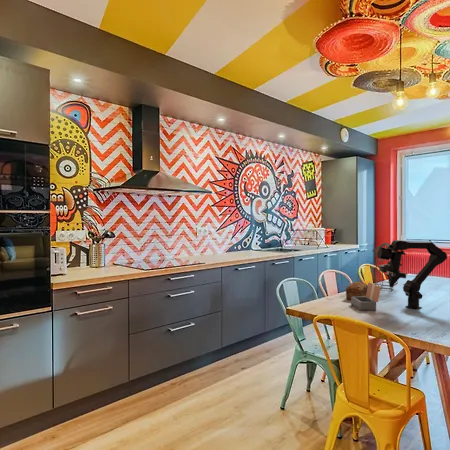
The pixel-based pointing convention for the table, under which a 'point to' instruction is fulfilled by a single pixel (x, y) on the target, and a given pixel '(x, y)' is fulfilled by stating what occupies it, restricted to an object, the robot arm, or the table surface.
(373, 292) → the lid
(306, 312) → the table surface
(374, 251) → the geometric lantern
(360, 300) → the storage box
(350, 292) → the bread
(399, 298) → the table surface
